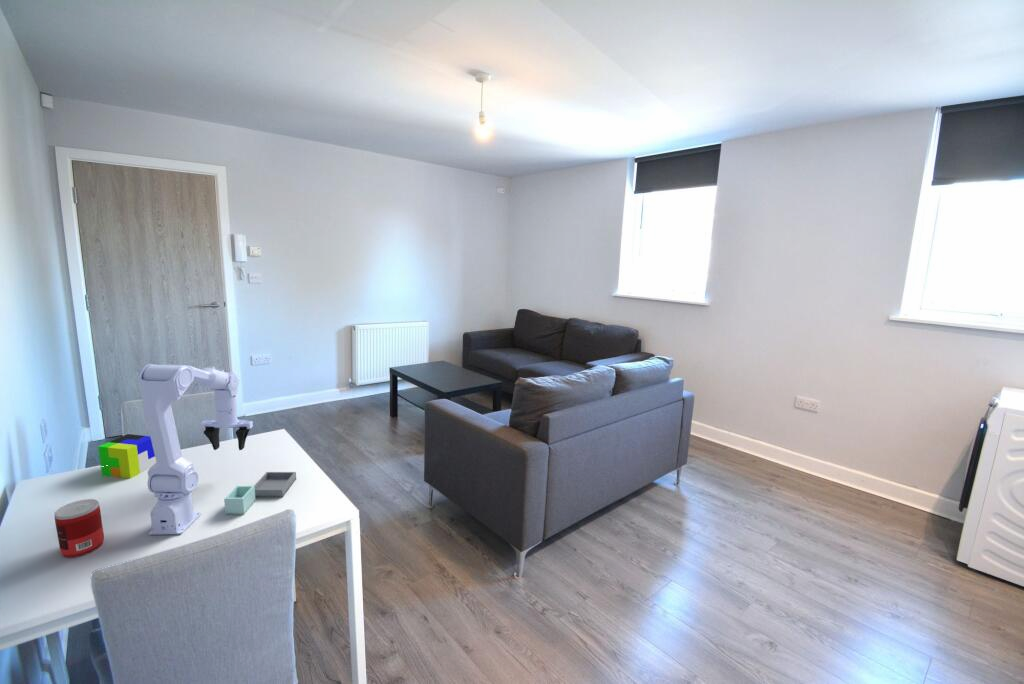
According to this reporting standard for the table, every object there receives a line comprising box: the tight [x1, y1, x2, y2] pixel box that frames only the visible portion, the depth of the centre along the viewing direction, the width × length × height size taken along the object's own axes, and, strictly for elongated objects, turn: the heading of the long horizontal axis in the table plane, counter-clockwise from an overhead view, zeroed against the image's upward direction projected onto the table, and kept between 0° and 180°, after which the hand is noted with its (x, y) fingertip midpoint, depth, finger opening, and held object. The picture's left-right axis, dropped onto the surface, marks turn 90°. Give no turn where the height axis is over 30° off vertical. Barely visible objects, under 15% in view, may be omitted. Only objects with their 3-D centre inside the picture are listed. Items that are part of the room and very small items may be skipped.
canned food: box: [54, 498, 105, 558], centre depth 110 cm, size 8×8×11 cm
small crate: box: [223, 485, 256, 516], centre depth 130 cm, size 5×7×5 cm
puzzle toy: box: [97, 433, 157, 479], centre depth 147 cm, size 10×10×10 cm
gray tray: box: [253, 471, 297, 499], centre depth 141 cm, size 9×11×2 cm
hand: (229, 448), depth 145 cm, fingers open, 7 cm apart
